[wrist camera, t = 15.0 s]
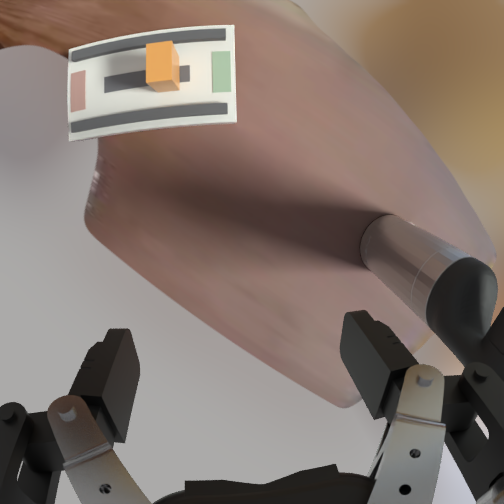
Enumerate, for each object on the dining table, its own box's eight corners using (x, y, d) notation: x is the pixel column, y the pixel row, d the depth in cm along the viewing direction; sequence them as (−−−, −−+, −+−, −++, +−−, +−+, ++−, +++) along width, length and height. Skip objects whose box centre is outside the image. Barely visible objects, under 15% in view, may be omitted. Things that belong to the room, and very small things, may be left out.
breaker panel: (232, 35, 32) (234, 24, 28) (234, 123, 36) (236, 121, 32) (81, 55, 30) (68, 49, 26) (81, 140, 34) (68, 141, 30)
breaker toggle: (179, 57, 29) (172, 40, 23) (179, 90, 30) (171, 79, 24) (157, 59, 28) (146, 44, 22) (158, 92, 30) (145, 82, 24)
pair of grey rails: (225, 31, 28) (225, 28, 27) (227, 114, 32) (227, 113, 31) (75, 53, 27) (71, 51, 26) (75, 132, 30) (71, 132, 29)
